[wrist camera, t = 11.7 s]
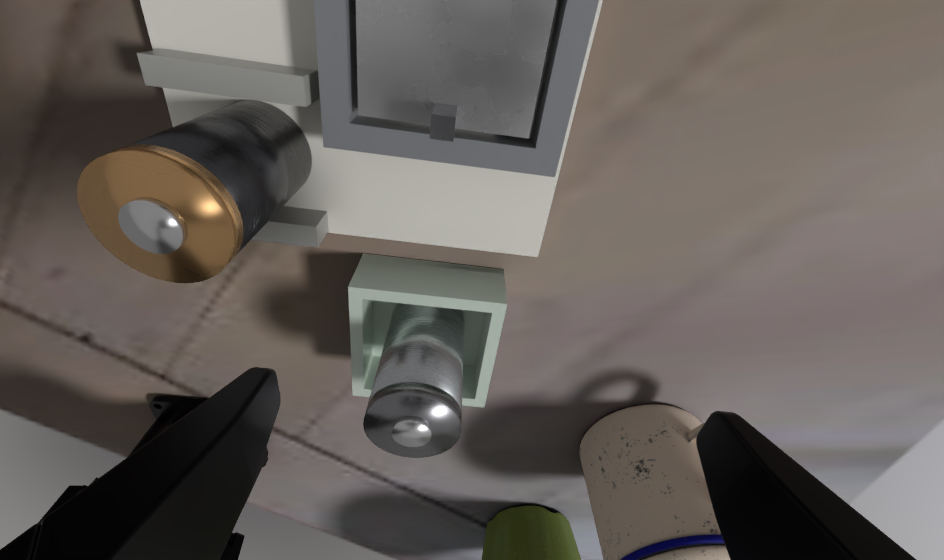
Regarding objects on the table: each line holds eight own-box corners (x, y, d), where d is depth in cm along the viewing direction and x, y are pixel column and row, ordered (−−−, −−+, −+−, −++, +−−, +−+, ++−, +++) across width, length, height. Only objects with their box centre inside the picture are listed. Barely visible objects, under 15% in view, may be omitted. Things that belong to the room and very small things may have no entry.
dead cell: (390, 344, 24) (362, 460, 18) (392, 288, 22) (360, 397, 16) (460, 351, 24) (455, 467, 18) (468, 296, 22) (466, 407, 16)
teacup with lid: (654, 488, 33) (730, 692, 23) (552, 462, 31) (587, 672, 21) (767, 392, 26) (935, 615, 17) (647, 352, 25) (759, 578, 15)
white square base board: (205, 209, 20) (170, 236, 17) (69, -349, 11) (-36, -440, 9) (535, 249, 21) (543, 278, 19) (654, -231, 12) (695, -285, 10)
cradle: (362, 110, 16) (345, 127, 14) (359, -115, 12) (335, -140, 10) (526, 133, 16) (534, 152, 14) (568, -78, 13) (587, -95, 11)
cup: (364, 356, 25) (352, 395, 22) (363, 253, 21) (348, 286, 18) (483, 367, 25) (484, 407, 23) (503, 269, 21) (507, 304, 19)
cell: (223, 189, 18) (100, 280, 12) (203, 92, 16) (41, 145, 10) (315, 201, 19) (238, 296, 13) (307, 107, 16) (210, 167, 10)
